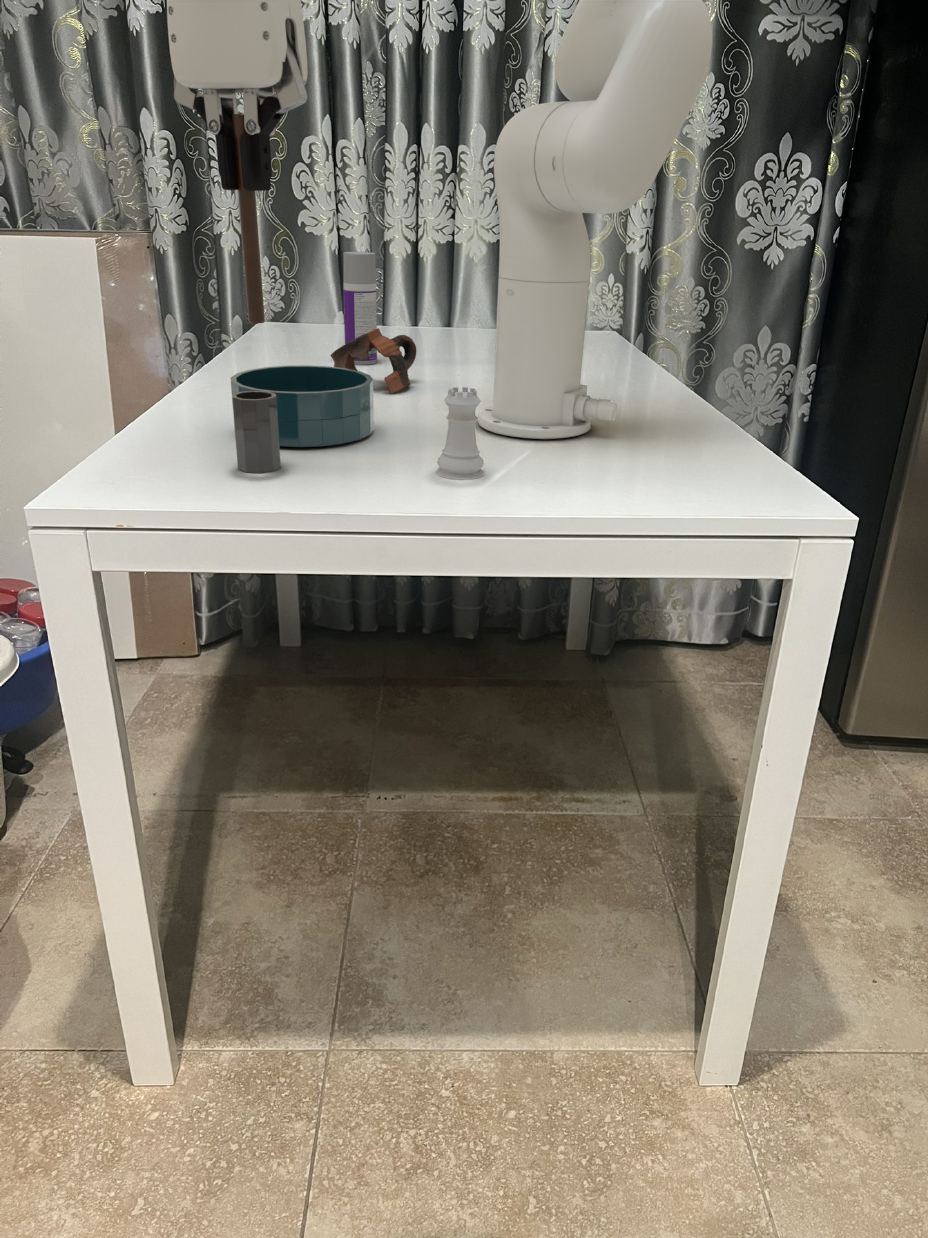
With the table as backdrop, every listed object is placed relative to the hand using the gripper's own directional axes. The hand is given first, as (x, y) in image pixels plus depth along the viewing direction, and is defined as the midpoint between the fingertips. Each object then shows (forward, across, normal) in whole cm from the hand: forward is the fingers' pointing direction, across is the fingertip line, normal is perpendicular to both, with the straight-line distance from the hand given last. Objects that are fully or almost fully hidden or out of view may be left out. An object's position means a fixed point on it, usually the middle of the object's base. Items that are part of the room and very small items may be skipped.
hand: (246, 188), depth 75 cm
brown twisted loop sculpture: (+24, +7, -38) cm, 45 cm away
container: (+24, +17, -52) cm, 59 cm away
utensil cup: (+23, -1, +3) cm, 24 cm away
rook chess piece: (+24, -18, -4) cm, 30 cm away
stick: (+11, 0, 0) cm, 11 cm away
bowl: (+24, +2, -10) cm, 26 cm away
